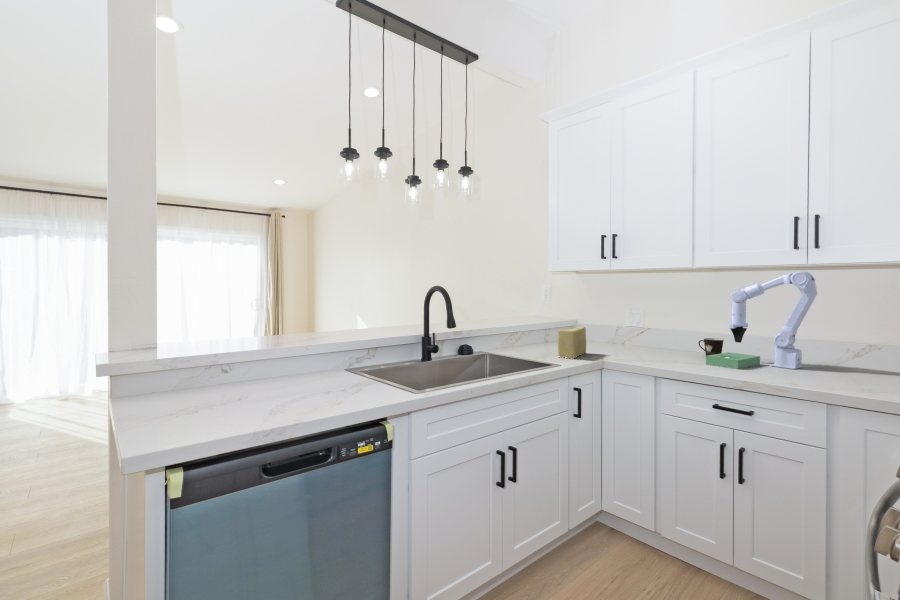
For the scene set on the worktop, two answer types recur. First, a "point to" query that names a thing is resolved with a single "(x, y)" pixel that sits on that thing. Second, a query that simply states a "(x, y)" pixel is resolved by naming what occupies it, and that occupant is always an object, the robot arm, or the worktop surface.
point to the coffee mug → (712, 346)
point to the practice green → (733, 360)
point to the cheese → (572, 342)
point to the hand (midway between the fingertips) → (738, 342)
